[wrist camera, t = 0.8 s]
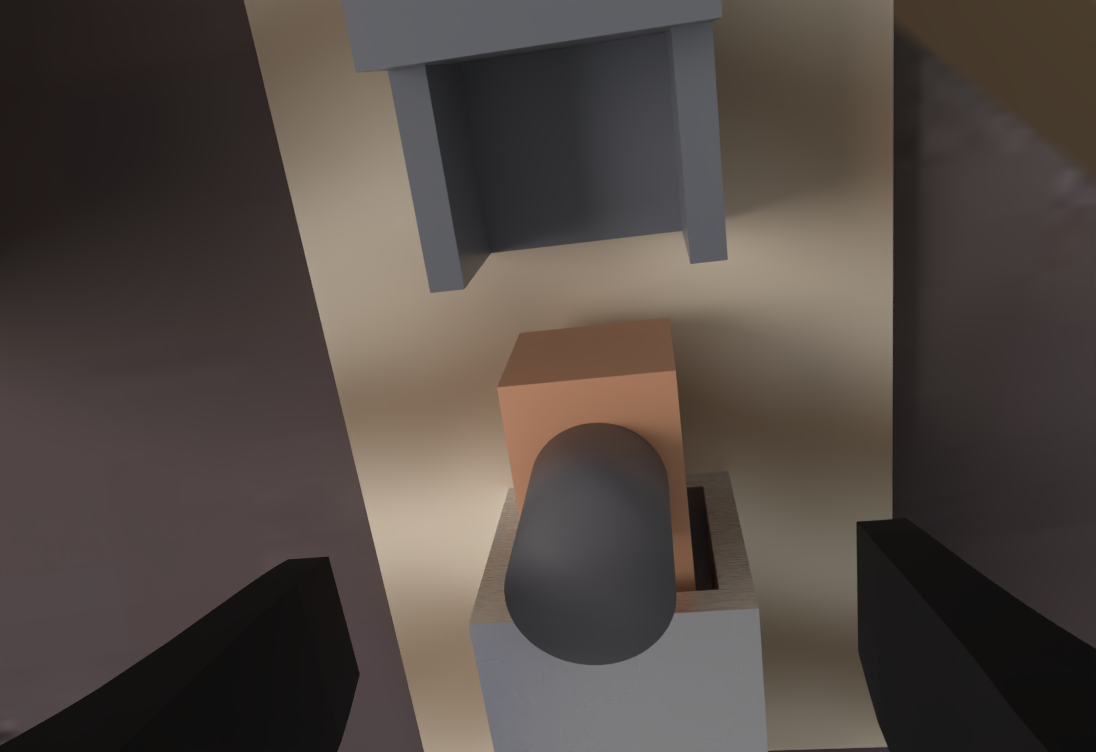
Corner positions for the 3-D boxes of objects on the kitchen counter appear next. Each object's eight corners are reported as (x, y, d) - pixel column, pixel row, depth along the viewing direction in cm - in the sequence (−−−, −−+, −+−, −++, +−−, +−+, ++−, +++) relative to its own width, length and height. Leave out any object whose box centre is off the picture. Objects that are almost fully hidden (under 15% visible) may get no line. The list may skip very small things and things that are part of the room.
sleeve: (746, 719, 21) (777, 908, 16) (549, 727, 22) (526, 909, 17) (728, 471, 19) (759, 608, 14) (508, 488, 19) (468, 624, 15)
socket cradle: (710, 221, 17) (738, 284, 12) (467, 250, 18) (406, 321, 13) (691, -43, 15) (716, -86, 11) (424, 1, 16) (336, -22, 11)
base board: (882, 722, 22) (892, 746, 21) (433, 738, 23) (426, 761, 23) (881, -106, 15) (894, -115, 14) (260, -2, 17) (243, -5, 16)
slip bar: (712, 783, 21) (741, 1065, 15) (590, 787, 21) (573, 1062, 15) (668, 317, 17) (686, 456, 11) (519, 332, 17) (460, 474, 11)
